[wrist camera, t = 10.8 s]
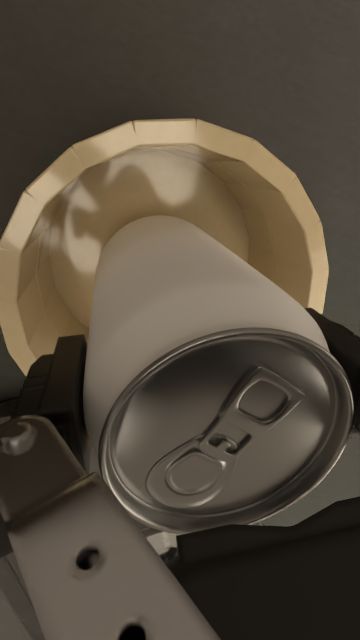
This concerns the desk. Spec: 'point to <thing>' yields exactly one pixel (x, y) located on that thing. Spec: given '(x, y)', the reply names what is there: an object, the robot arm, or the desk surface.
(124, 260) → the can
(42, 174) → the tan round bowl
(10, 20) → the desk surface
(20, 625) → the vintage computer
